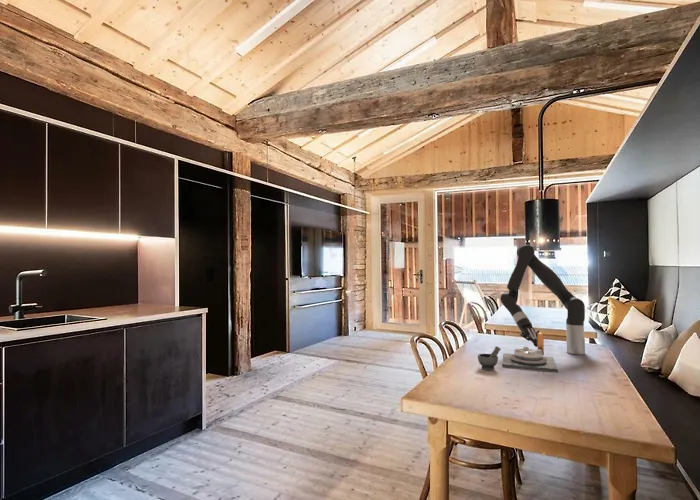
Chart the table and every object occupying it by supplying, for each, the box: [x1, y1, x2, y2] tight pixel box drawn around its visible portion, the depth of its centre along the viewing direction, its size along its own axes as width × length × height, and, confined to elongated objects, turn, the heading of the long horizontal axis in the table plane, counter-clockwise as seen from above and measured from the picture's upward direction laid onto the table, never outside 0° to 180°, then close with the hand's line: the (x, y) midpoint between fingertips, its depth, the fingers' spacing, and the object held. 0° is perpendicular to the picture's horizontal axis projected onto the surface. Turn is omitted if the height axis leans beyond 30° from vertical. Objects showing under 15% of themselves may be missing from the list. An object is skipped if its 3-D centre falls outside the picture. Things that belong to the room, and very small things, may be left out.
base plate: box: [501, 352, 559, 373], centre depth 212 cm, size 26×26×3 cm
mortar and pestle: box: [477, 346, 501, 372], centre depth 201 cm, size 11×9×12 cm
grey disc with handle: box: [513, 332, 545, 361], centre depth 214 cm, size 21×14×12 cm
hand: (537, 345), depth 221 cm, fingers closed
